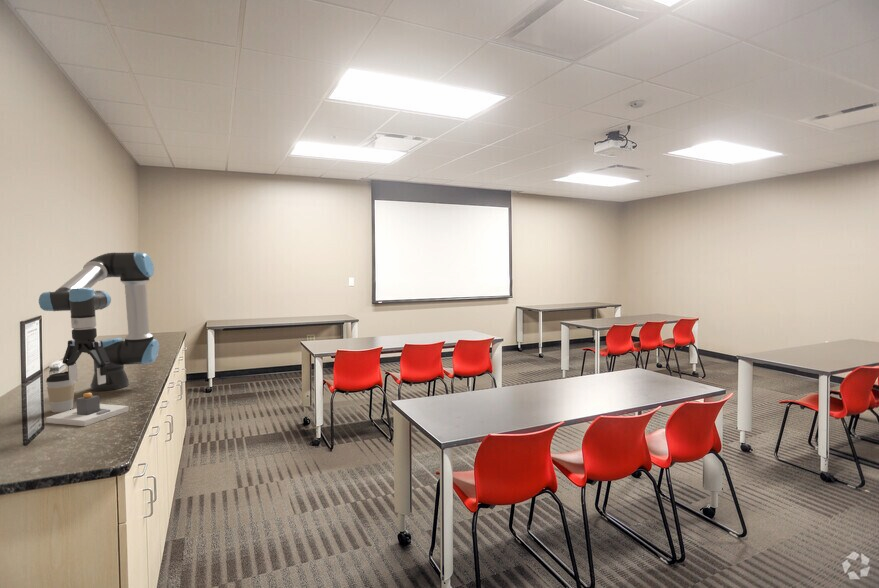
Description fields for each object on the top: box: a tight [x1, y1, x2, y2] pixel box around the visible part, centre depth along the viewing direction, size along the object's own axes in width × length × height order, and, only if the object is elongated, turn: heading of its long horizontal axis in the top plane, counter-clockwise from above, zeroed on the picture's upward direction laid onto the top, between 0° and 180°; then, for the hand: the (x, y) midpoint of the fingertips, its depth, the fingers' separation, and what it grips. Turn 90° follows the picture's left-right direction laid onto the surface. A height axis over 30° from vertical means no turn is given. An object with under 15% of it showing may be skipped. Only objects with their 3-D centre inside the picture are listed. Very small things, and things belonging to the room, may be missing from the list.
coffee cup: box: [45, 370, 75, 413], centre depth 187 cm, size 9×9×15 cm
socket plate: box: [45, 403, 130, 427], centre depth 178 cm, size 18×18×3 cm
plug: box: [75, 392, 101, 415], centre depth 178 cm, size 5×5×8 cm
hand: (87, 382), depth 178 cm, fingers open, 13 cm apart
